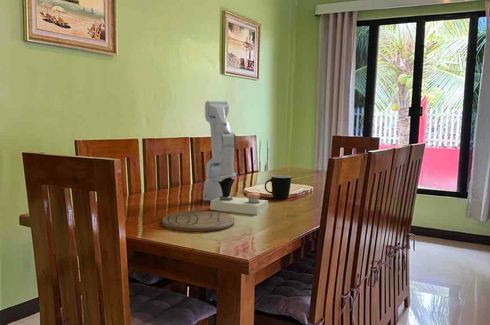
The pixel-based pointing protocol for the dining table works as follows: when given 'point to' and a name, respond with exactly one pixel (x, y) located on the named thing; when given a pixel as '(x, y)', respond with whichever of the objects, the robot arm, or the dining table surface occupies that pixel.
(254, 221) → the dining table surface
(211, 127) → the robot arm
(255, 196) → the button
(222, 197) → the button
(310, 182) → the dining table surface
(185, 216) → the trivet
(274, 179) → the mug
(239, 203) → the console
